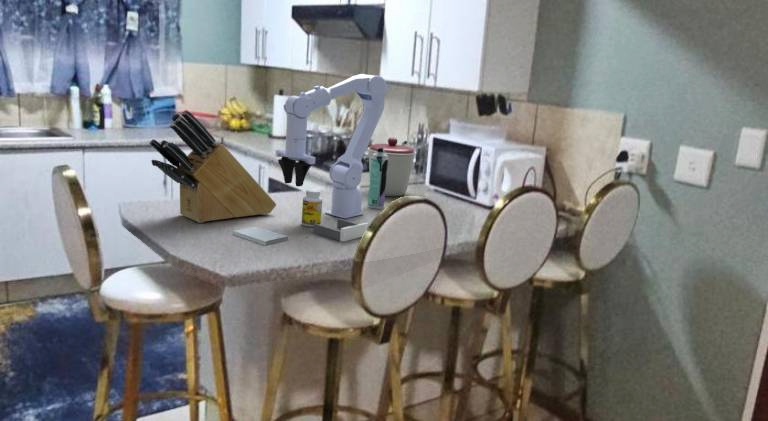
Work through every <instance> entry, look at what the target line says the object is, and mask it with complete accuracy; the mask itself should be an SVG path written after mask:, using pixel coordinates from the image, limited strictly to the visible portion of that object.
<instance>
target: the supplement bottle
mask: <svg viewBox="0 0 768 421" xmlns="http://www.w3.org/2000/svg"><path fill="white" fill-rule="evenodd" d="M301 208H302V209H301V211H302V212H301V225H302V226H304V227H309V228H311V227H312V228H313V227H314V224H315V223H317V224H320V225H322V224H321V223H322V212H323V210H322V209H323V197H322V196H321V190H319V189H314V188H309V189H306V192H305V195H303V198H302V207H301Z"/></svg>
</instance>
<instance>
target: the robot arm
mask: <svg viewBox="0 0 768 421" xmlns="http://www.w3.org/2000/svg"><path fill="white" fill-rule="evenodd" d="M388 91H389V89H388V85H387V82H386V80H385V78H384V77H383V76H382V75H371V74H366V73H360V74H357V75H353V76H351V77H348V78H346V79H345V80H343V81H341V82H338V83H336V84H334V85H332V86H330V87H328V88H326V87H324V86H320V85H315V86H313V89H311V90H309V91H306V92H305V91H301V92H300V93H299V96H298V95H291V96H289V97H288V98H287V100H285V103H284V104H283V110H284V113H286V129H285V130H286V132H285V133H286V136H285V149H276V150H275V157H276V158H280V159H278V160H277V162H278V165H279V166H280V169H281V172H282V174H283V179H284V184H286V185H287V184H292V182H293V176H294V174H295V179H294V181H295V187H302V186H303V185H304V182H305V179H306V177H307V174H308V172H309V170H310V168H311V167H312V165H315V164H316V156H313V155H311V154H307V153H306V149H307V146H306V145H307V132H308V131H307V126H308V117H309V116H310V115H311V114H312V113H313V112H315V111H317V110H319V109H322V108H325V107H327V106H328V105H330V104H331V101H332V100H333V99H336V98H339V97H342V96H344V95H347V94H349V93H350V94H351V93H354V92H355V94H356V95H357V96H358V98H359V99H361V101H362V103H363V106H364V109H363V112H362V114H361V116H360V118H359V121H358V123H357V126H356V128H355V130H354V132H353V134H352V137H351V139H350V140H349V143H348V145H347V147H346V150H345V152H344V153H343V154H342V155H341V156H339V157H338V158H337V159H336V162H335V163H334V164H333V165H332V166H331V167H330V169H329V171H328V172H329V173H328V174H329V178H330V180H331V181H332V182H331V183H332V192H331V193H332V195H331V207H330V209H331V210H326V211H324V212H325V214H326V215H329V216H330V215H331V216H334V217H337V218H340V219H347V218H352V217H357V216H362V215H364V212H362V204H363V201H362V200H363V192H362V189H361V188H360V187H359V185H360V183H361V182H362V174H363V171H364V166H363V163H362V159H363V157H364V155H365V153H366V151H367V148H368V146H369V143H370V141H371V139H372V137H373V135H374V132H375V130H376V128H377V126H378V123H379V121H380V119H381V118H382V117H381V116H382V115H383V112H384V109H385V99H386V95H387V93H388Z"/></svg>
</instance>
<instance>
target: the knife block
mask: <svg viewBox="0 0 768 421" xmlns="http://www.w3.org/2000/svg"><path fill="white" fill-rule="evenodd" d="M171 119H172V121H173V122H172V123H171V124H170V125H169V127H170V128H171V129H172V130H173V131H174V133H175V134H177V136H178V137H179V138H180V139H181V140H182V141H183V142H184V144H185V145H187V147H189V148H190V149H191V151H190V152H189V153H188V154H187V153H185V152H184V151H183V150H182V149H181V148H180V147H179V146H178V145H176V144H175V143H174V142H168V141H167V140H162V141H161V142H158V141H157V140H156V139H154V138H153V139H152V140H150V141H149V144H150V146H152V147H153V148H154V149H155V150H156V151H157V152H158V153H159V155H161V156H162V157H163V158H164V159H166V160H167V162H169V163H166V162H163V161H160V160H157V159H152V160H150V161H151V165H152V166H153V167H156V168H158V169H159V170H161V172H163V173H164V174H165V175H166V176H168V177H169V178H170V179H171V180H173V181H174V182H175V183H177V184H179V213H180V215H181V216H183V217H185V218H188V219H190V220H192V221H195V222H197V223H199V224H203V223H204V222H209V221H219V220H225V219H226V220H227V219H232V218H240V217H249V216H257V215H261V216H263V215H264V216H265V215H266V214H271V213H272V211H273V210H274V209H275V208H276V206H277V203H276V202H275V201H274V200H273V198H272V197H271V196H270V195H269V194H268V192H266V190H264V188H263V187H262V186H261V185H260V183H258V182H257V180H256V179H255V178H254V176H252V175H251V174H250V172H248V170H247V169H246V168H245V167H244V166H243V165H242V164H241V162H240V161H238V160H237V157H235V156H234V155H233V154H232V152H230V150H229V149H228V148H227V147H226V146H225V144H222V143H218V142H217V140H216V139H215V138H214V137H213V135H212V134H211V133H210V131H208V130H207V129H206V127H205V126H204V125H203V124H202V123H201V122H200V121H199V120H198V119H197V117H195V116H194V115H193V114H192V113H191V112H190V111H189V110H188V109H184V111H182V112H181V115H180V114H179V113H175V114H174V115H173V116H172V118H171Z"/></svg>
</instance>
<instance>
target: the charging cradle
mask: <svg viewBox="0 0 768 421" xmlns="http://www.w3.org/2000/svg"><path fill="white" fill-rule="evenodd" d="M368 225H369V226H370V223H369V222H362V223H357V222H354V221H351V220H346V219H345V218H340V217H337V221H336V228H332V227H329V226H326V225H322V224H317V223H315V224H314V227H312V230H313V231H312V232H313V233H314V234H317V235H320V236H324V237H327V238H330V239H333V240H336V241H339V242H341V243H342V242H343V243H344V242H347V241H351V240H355V239H359V238H363V237H362V235H363V234H364V232H365V231H366V229H367V227H368ZM337 228H339V229H340V230H339V229H337Z"/></svg>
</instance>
